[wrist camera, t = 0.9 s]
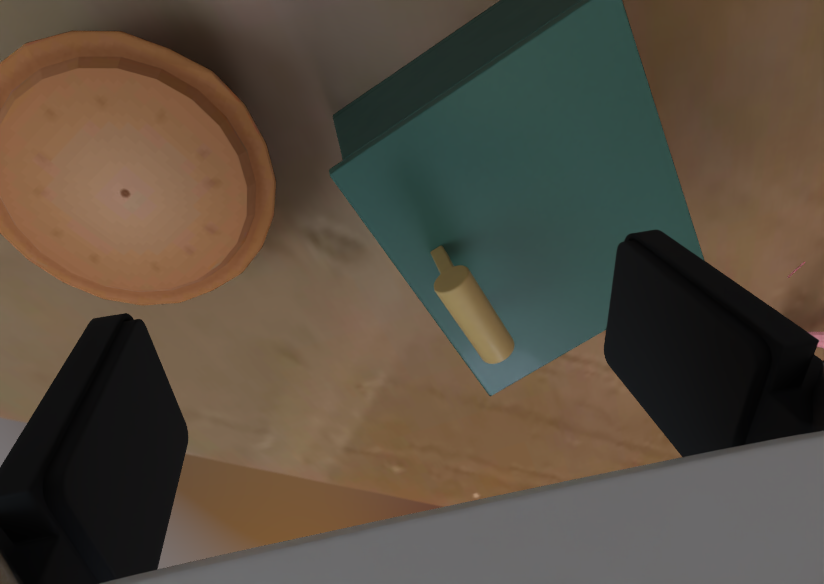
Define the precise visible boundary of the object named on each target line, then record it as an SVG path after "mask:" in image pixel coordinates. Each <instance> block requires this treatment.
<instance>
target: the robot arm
mask: <svg viewBox="0 0 824 584" xmlns="http://www.w3.org/2000/svg"><path fill="white" fill-rule="evenodd" d="M818 342H819V340H818V339H817V338H815V337H814V336H812V335H811V334H809V333H808V332H806V331H805V330H804V329H802V328H801V327H799V326H798V325H796V324H795V323H793V322H792V321H791V320H789V319H788V318H786V317H785V316H783V315H782V314H780V313H779V312H778V311H776V310H775V309H773V308H772V307H770V306H769V305H767V304H766V303H765V302H763V301H762V300H760V299H759V298H757V297H756V296H754V295H753V294H752V293H750V292H749V291H747V290H746V289H744V288H743V287H741V286H740V285H739V284H737V283H736V282H734V281H733V280H731V279H730V278H728V277H727V276H726V275H724V274H723V273H721V272H720V271H718V270H717V269H715V268H714V267H713V266H711V265H710V264H708V263H707V262H705V261H704V260H702V259H701V258H700V257H698V256H697V255H695V254H694V253H692V252H691V251H689V250H688V249H687V248H685V247H684V246H682V245H681V244H679V243H678V242H676V241H675V240H674V239H672V238H671V237H669V236H668V235H666V234H665V233H663V232H662V231H660V230H658V229H657V230H650V231H643V232H637V233H631V234H629V235H627V236H626V238H625V240H624V242H621V243H619V245H618V247H617V252H616V260H615V267H614V275H613V282H612V290H611V298H610V305H609V313H608V320H607V328H606V336H605V343H604V355H605V358H606V361H607V363H608V365H609V366H610V367H611V368H612V370H613V371H614V372H615V373H616V375H617V376H618V377H619V378H620V380H621V381H622V382H623V383H624V385H625V386H626V387H627V388H628V390H629V391H630V392H631V393H632V395H633V396H634V397H635V398H636V400H637V401H638V402H639V403H640V405H641V406H642V407H643V408H644V410H645V411H646V412H647V413H648V415H649V416H650V417H651V418H652V419H653V421H654V422H655V423H656V424H657V426H658V427H659V428H660V429H661V431H662V432H663V433H664V434H665V436H666V437H667V438H668V439H669V441H670V442H671V443H672V444H673V446H674V447H675V448H676V449H677V451H678V452H679V453H680V454H681V456H682V458H677V459H672V460H667V461H662V462H657V463H652V464H647V465H643V466H638V467H633V468H628V469H623V470H618V471H613V472H608V473H604V474H599V475H594V476H589V477H584V478H579V479H574V480H570V481H565V482H560V483H555V484H551V485H546V486H541V487H536V488H531V489H527V490H522V491H517V492H512V493H508V494H503V495H498V496H493V497H489V498H484V499H479V500H474V501H470V502H465V503H460V504H456V505H451V506H446V507H441V508H437V509H432V510H427V511H423V512H418V513H413V514H408V515H404V516H399V517H394V518H390V519H385V520H380V521H376V522H372V523H366V524H362V525H358V526H353V527H349V528H344V529H339V530H334V531H330V532H325V533H320V534H316V535H311V536H306V537H302V538H297V539H293V540H288V541H283V542H279V543H274V544H270V545H265V546H261V547H256V548H251V549H247V550H242V551H237V552H233V553H228V554H224V555H219V556H215V557H210V558H206V559H202V560H197V561H193V562H188V563H184V564H180V565H175V566H171V567H167V568H163V569H158V570H157V568H158V564H159V560H160V555H161V552H162V548H163V543H164V539H165V535H166V531H167V527H168V523H169V519H170V515H171V510H172V506H173V502H174V498H175V493H176V490H177V486H178V482H179V478H180V473H181V469H182V465H183V461H184V457H185V453H186V449H187V445H188V430H187V426H186V423H185V420H184V418H183V415H182V413H181V410H180V408H179V406H178V403H177V401H176V398H175V396H174V393H173V391H172V389H171V386H170V384H169V381H168V379H167V376H166V374H165V372H164V369H163V367H162V364H161V362H160V359H159V357H158V355H157V352H156V350H155V347H154V345H153V342H152V340H151V338H150V335H149V333H148V330H147V328H146V326H145V324H144V322H143V321H142V320H140V319H137V320H134V319H133V318H132V317H131V316H130V315H129V314H127V313H125V314H119V315H113V316H106V317H100V318H94V319H92V320H91V321H90V323H89V324H88V326H87V327H86V329H85V331H84V332H83V334H82V336H81V337H80V339H79V340H78V342H77V344H76V345H75V347H74V349H73V350H72V352H71V353H70V355H69V357H68V358H67V360H66V362H65V363H64V365H63V366H62V368H61V370H60V371H59V373H58V375H57V376H56V378H55V379H54V381H53V383H52V384H51V386H50V388H49V389H48V391H47V392H46V394H45V396H44V397H43V399H42V400H41V402H40V404H39V405H38V407H37V409H36V410H35V412H34V413H33V415H32V417H31V418H30V420H29V422H28V423H27V425H26V426H25V428H24V430H23V432H22V433H21V435H20V436H19V438H18V439H17V441H16V443H15V444H14V446H13V448H12V449H11V451H10V452H9V454H8V456H7V457H6V459H5V461H4V462H3V464H2V465H1V467H0V584H824V361H822V360H821V359H820V358H818V357H817V356H815V355H814V352H815V350H816V347H817V345H818Z"/></svg>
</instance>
